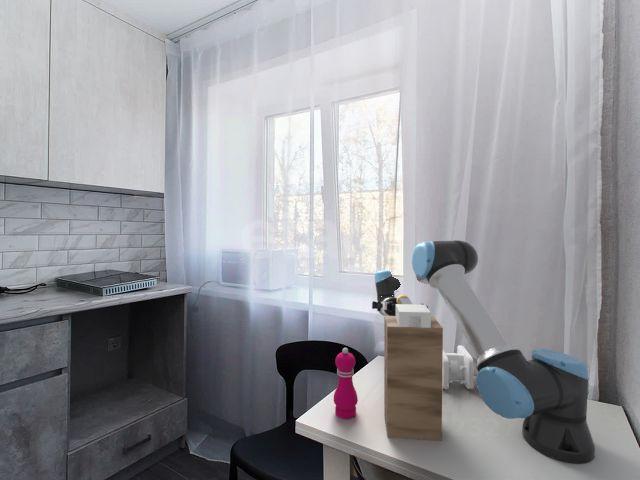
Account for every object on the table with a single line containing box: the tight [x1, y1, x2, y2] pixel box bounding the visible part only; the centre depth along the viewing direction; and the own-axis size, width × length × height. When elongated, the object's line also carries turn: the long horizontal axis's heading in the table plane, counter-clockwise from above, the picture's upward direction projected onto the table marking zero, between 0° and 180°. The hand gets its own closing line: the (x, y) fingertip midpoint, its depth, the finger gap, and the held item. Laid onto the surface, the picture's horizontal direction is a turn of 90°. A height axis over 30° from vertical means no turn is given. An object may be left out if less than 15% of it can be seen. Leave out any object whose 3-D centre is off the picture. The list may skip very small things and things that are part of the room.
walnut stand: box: [383, 316, 444, 441], centre depth 92 cm, size 10×14×30 cm
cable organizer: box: [442, 345, 475, 390], centre depth 117 cm, size 15×11×12 cm
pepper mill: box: [333, 347, 359, 420], centre depth 99 cm, size 7×7×20 cm
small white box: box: [396, 294, 432, 328], centre depth 97 cm, size 23×8×4 cm, turn 174°
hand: (405, 307), depth 112 cm, fingers open, 13 cm apart
